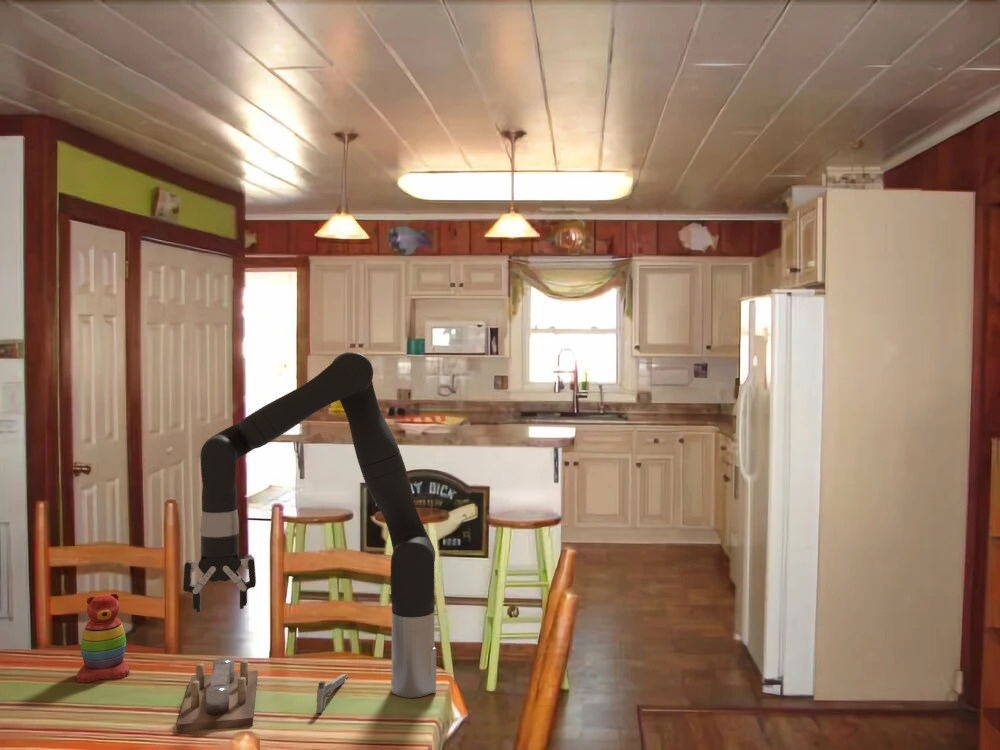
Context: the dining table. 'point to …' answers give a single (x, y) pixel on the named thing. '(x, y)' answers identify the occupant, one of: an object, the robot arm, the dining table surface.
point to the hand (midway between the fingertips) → (220, 609)
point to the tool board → (239, 701)
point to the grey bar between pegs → (220, 686)
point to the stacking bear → (103, 641)
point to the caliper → (327, 691)
